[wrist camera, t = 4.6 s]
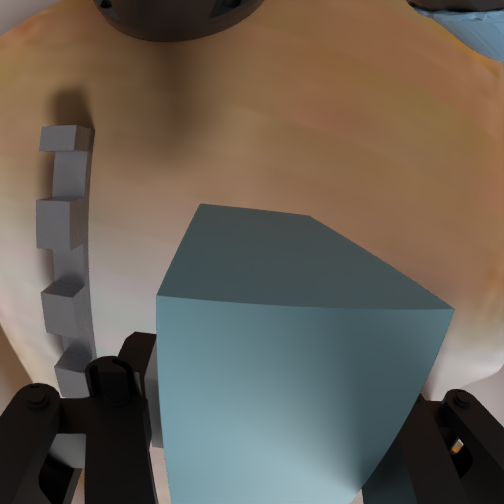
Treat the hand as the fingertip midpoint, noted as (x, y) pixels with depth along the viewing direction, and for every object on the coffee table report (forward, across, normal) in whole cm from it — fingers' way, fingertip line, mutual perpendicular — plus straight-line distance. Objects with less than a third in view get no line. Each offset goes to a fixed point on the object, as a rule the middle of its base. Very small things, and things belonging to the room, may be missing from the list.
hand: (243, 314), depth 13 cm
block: (0, 0, 0) cm, 0 cm away
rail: (+11, -13, -6) cm, 18 cm away
